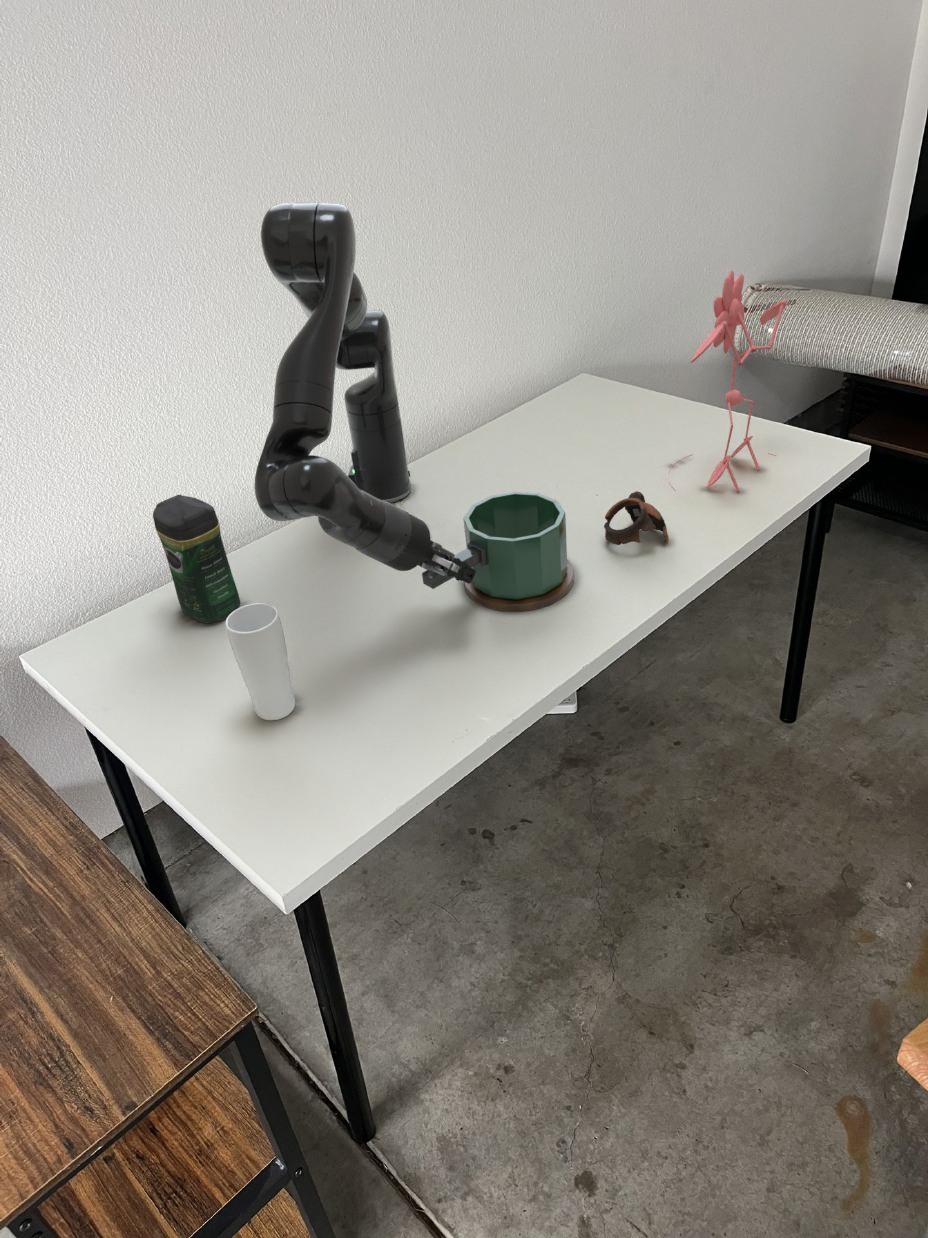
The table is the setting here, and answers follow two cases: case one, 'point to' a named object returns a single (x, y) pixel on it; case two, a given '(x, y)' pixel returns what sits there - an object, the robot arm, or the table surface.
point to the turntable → (524, 603)
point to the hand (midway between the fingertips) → (464, 573)
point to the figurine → (728, 317)
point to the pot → (513, 546)
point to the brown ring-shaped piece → (634, 520)
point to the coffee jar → (196, 558)
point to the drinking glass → (262, 658)
